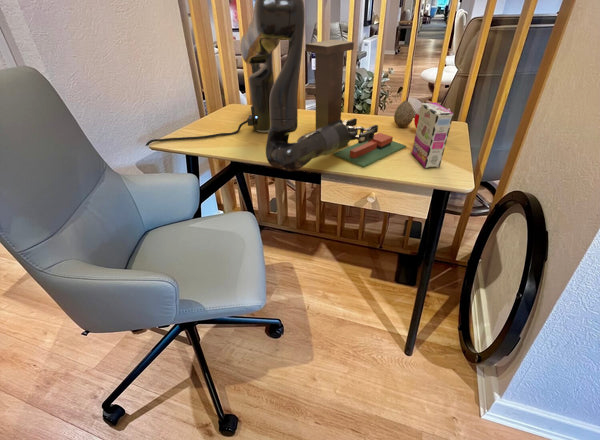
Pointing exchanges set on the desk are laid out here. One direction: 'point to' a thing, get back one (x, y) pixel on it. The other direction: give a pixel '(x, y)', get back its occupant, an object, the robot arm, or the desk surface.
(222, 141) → the desk surface
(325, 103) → the stand
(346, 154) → the felt mat
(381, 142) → the brush
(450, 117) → the candy bar box
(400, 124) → the decorative egg
